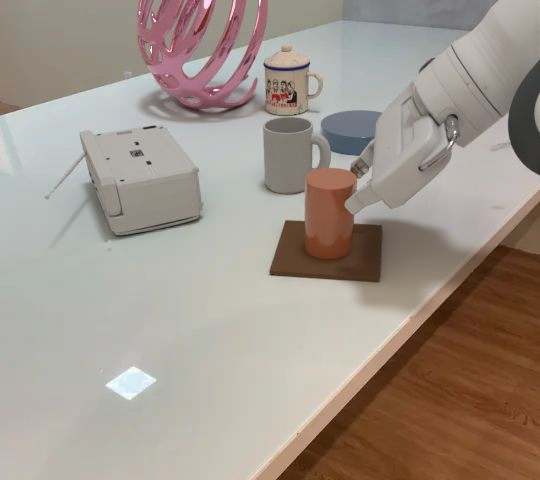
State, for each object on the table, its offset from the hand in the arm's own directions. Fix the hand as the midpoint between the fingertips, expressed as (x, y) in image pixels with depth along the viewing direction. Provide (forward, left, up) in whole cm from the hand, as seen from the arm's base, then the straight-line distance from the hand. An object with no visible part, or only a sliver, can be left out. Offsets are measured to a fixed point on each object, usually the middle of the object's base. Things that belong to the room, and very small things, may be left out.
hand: (351, 189), depth 65 cm
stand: (0, -39, -8) cm, 40 cm away
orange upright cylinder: (+2, 0, -8) cm, 8 cm away
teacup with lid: (+14, -55, -8) cm, 57 cm away
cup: (+9, -19, -8) cm, 22 cm away
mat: (+2, 0, -8) cm, 8 cm away
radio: (+25, -15, -4) cm, 29 cm away
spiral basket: (+33, -58, -8) cm, 67 cm away
